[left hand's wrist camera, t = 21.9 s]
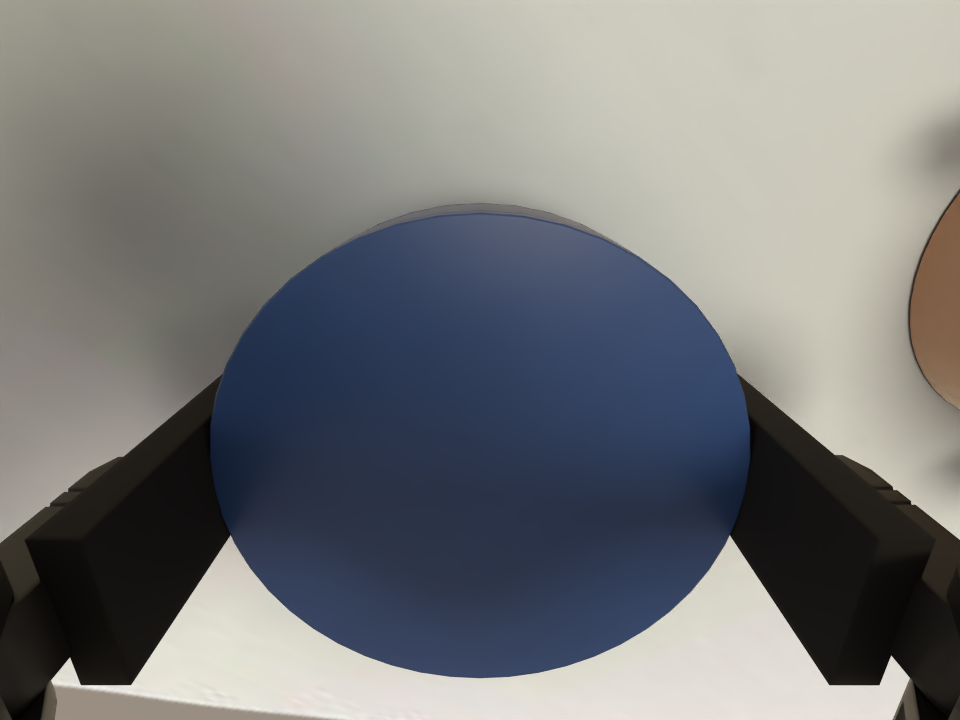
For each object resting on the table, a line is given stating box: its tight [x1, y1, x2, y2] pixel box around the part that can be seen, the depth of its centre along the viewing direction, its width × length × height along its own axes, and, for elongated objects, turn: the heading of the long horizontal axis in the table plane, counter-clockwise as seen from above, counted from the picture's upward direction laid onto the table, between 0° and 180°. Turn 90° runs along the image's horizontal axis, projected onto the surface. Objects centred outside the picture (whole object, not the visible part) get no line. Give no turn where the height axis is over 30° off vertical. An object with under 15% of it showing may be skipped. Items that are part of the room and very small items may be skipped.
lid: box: [210, 203, 750, 678], centre depth 11 cm, size 11×11×2 cm
